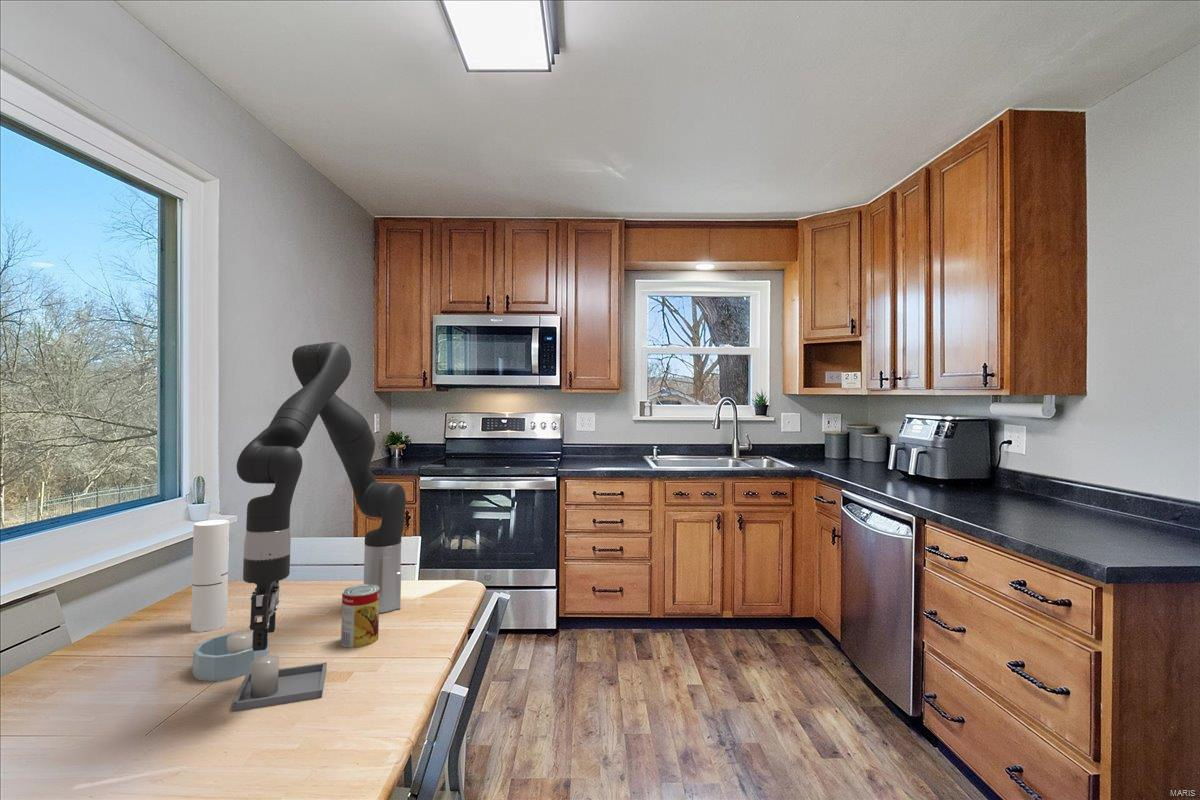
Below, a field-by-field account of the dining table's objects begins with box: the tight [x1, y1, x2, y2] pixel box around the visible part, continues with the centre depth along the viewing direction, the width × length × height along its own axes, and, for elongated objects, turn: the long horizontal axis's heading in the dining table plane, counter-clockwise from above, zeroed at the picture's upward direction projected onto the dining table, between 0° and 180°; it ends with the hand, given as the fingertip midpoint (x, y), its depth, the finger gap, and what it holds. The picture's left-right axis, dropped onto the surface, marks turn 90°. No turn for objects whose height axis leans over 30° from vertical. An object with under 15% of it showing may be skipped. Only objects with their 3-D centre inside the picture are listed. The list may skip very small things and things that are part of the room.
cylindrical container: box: [190, 519, 230, 633], centre depth 137 cm, size 7×7×25 cm
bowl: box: [192, 630, 270, 682], centre depth 116 cm, size 13×13×5 cm
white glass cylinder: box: [227, 630, 253, 654], centre depth 115 cm, size 4×4×6 cm
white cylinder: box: [251, 654, 280, 698], centre depth 105 cm, size 4×4×6 cm
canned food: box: [340, 583, 380, 648], centre depth 129 cm, size 8×8×12 cm
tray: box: [232, 661, 328, 712], centre depth 107 cm, size 14×12×2 cm
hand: (264, 640), depth 105 cm, fingers open, 8 cm apart
